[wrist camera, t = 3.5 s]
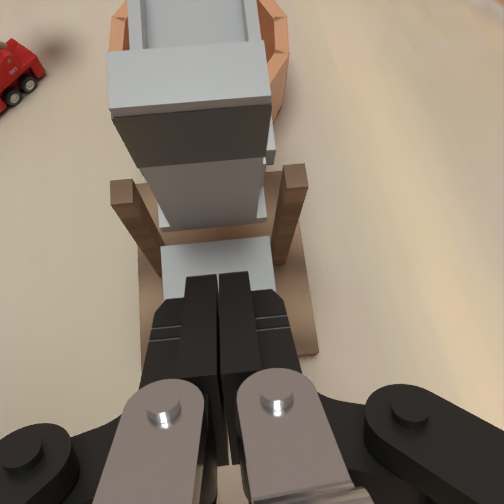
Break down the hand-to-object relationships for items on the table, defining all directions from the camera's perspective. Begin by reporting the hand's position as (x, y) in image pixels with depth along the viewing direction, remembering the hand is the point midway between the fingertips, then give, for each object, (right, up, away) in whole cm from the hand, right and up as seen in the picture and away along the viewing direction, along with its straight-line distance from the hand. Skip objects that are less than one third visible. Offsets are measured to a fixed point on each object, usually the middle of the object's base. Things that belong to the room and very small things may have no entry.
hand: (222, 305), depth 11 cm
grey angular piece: (-2, +5, +13) cm, 14 cm away
